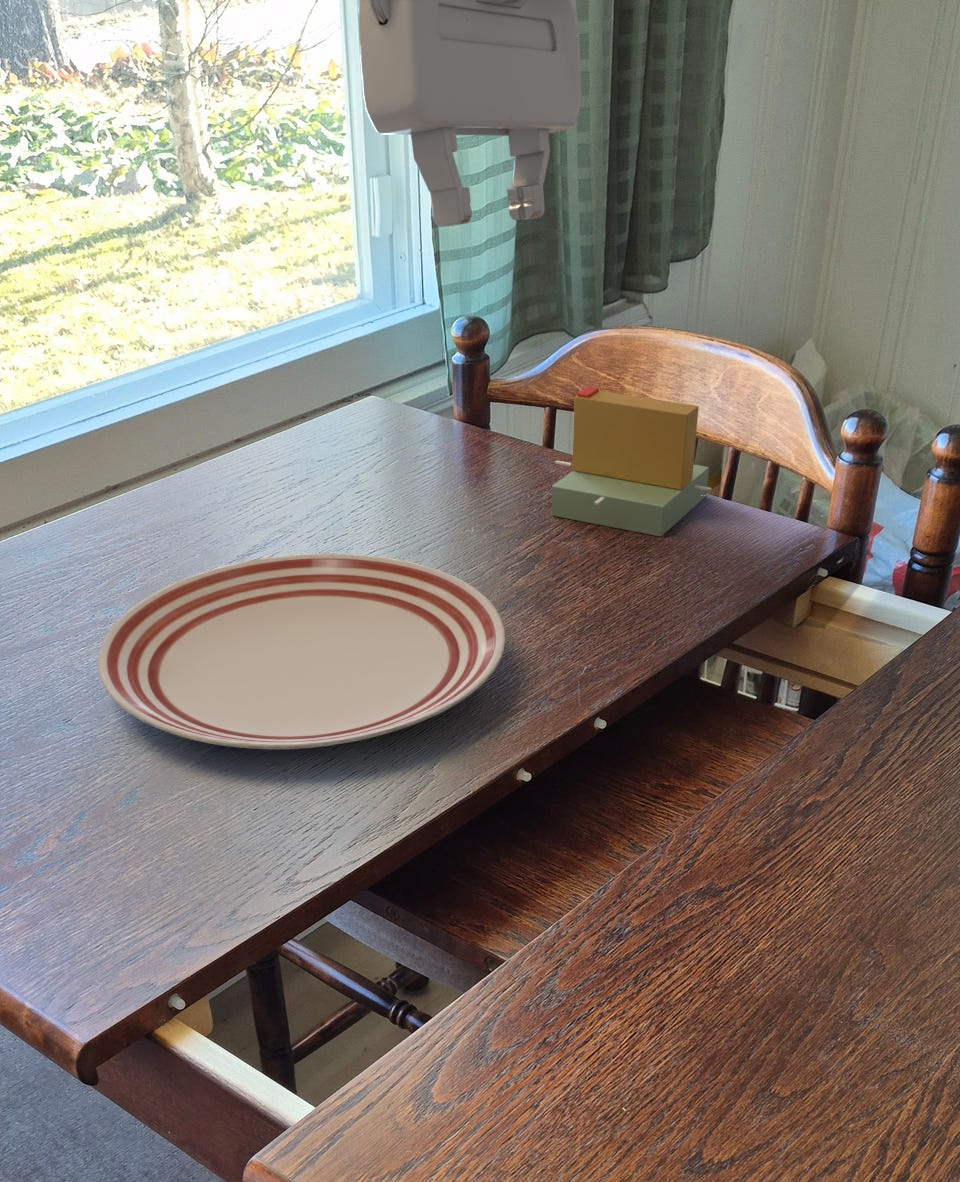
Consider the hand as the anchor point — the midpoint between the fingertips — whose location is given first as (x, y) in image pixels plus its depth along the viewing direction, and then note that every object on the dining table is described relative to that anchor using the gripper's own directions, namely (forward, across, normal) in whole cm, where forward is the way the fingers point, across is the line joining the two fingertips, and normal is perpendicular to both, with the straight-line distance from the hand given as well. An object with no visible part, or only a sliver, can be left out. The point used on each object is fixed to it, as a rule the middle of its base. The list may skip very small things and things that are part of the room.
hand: (492, 222), depth 86 cm
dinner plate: (+26, -8, +14) cm, 30 cm away
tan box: (+19, +30, +5) cm, 36 cm away
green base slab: (+22, +31, +6) cm, 38 cm away
